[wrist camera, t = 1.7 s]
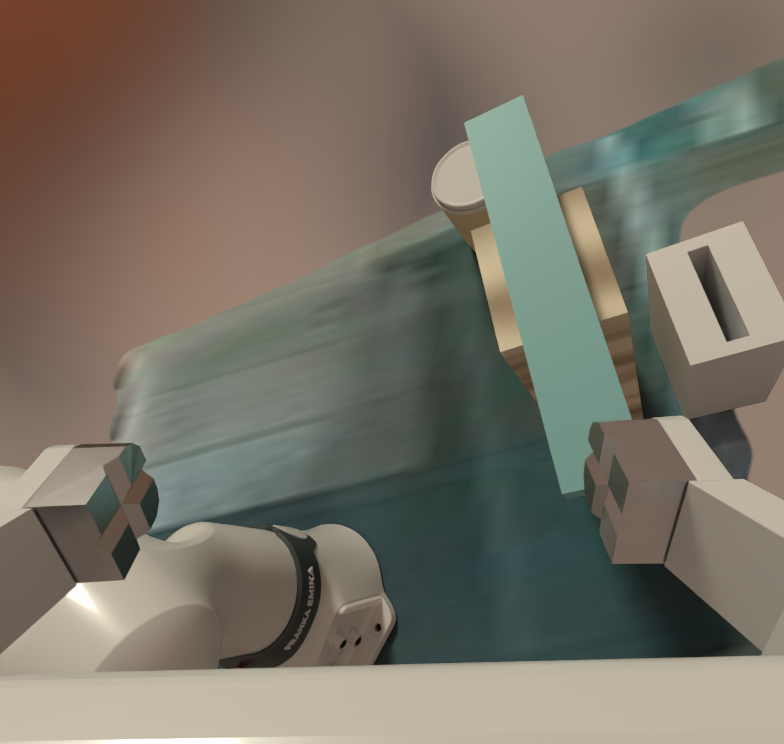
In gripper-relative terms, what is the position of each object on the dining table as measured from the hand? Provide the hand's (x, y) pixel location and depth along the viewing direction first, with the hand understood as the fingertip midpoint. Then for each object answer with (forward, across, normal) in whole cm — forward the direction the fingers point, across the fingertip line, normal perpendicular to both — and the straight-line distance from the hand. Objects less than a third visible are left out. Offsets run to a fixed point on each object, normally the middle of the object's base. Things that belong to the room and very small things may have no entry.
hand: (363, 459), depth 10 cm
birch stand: (+41, +19, -27) cm, 53 cm away
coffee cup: (+61, +12, -16) cm, 65 cm away
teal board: (+26, +10, -8) cm, 29 cm away
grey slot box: (+39, +29, -24) cm, 54 cm away
